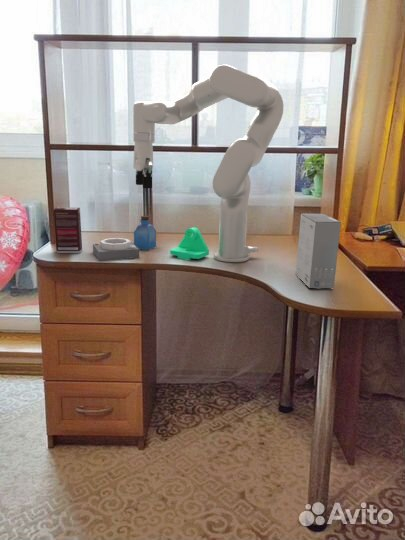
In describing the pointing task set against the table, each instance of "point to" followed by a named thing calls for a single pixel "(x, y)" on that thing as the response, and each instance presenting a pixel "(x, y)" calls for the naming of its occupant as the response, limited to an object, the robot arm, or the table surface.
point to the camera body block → (115, 249)
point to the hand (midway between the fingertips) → (143, 186)
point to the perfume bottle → (145, 235)
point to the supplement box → (67, 230)
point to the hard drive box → (318, 250)
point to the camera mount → (191, 246)
